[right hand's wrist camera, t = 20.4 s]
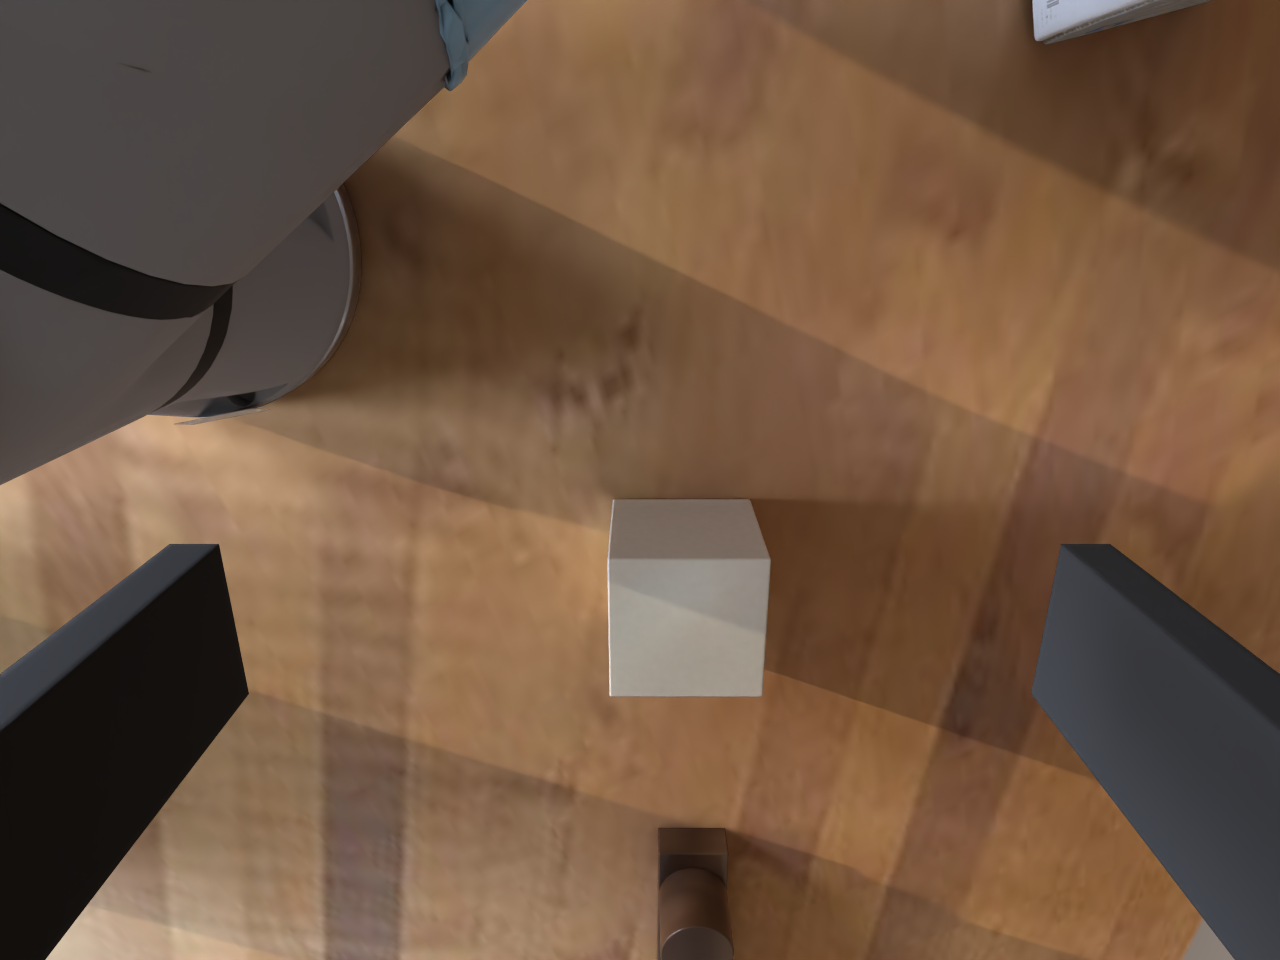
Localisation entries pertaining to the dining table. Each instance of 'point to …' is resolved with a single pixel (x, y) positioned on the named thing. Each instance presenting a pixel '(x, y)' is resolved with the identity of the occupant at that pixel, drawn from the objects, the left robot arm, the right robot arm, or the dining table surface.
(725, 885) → the walnut stand
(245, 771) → the dining table surface
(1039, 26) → the hard drive box
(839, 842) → the dining table surface
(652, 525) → the cap block
